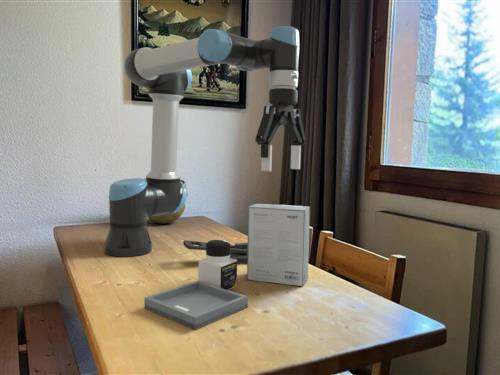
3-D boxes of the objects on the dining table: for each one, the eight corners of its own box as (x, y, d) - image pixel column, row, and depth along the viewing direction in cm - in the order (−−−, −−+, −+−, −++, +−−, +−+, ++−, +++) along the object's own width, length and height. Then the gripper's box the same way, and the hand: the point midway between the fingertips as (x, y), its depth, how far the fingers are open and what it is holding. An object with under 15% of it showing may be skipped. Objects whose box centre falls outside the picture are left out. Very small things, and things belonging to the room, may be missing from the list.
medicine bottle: (220, 294, 106) (221, 245, 105) (197, 288, 110) (198, 241, 109) (237, 286, 113) (238, 240, 111) (214, 281, 116) (215, 236, 115)
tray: (144, 308, 96) (144, 297, 96) (197, 290, 109) (197, 280, 109) (195, 329, 86) (195, 317, 86) (247, 307, 99) (247, 296, 98)
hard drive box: (308, 278, 120) (311, 206, 118) (302, 287, 113) (305, 210, 111) (254, 272, 125) (256, 202, 123) (245, 279, 118) (247, 206, 116)
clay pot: (197, 221, 199) (197, 177, 196) (170, 230, 179) (170, 181, 177) (158, 217, 207) (159, 175, 205) (129, 225, 188) (128, 178, 186)
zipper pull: (181, 239, 135) (258, 235, 143) (181, 260, 136) (257, 255, 144) (186, 246, 127) (268, 241, 135) (186, 268, 127) (267, 263, 135)
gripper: (266, 82, 104) (264, 172, 106) (319, 92, 123) (317, 168, 125) (242, 84, 108) (240, 170, 111) (297, 94, 128) (295, 167, 130)
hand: (281, 170), depth 118 cm, fingers open, 13 cm apart
